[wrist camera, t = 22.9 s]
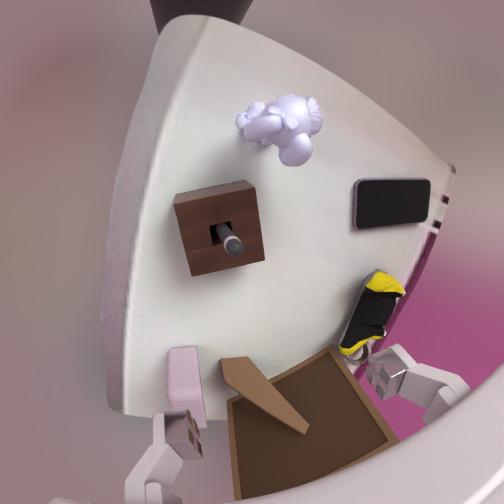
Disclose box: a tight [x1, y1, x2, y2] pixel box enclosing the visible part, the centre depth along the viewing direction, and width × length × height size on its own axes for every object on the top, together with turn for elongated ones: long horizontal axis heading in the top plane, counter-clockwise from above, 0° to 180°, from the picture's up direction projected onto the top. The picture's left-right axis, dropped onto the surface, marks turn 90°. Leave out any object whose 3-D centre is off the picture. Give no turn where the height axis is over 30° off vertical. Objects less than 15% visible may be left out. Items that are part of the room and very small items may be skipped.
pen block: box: [174, 180, 265, 277], centre depth 31 cm, size 8×8×5 cm
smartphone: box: [353, 178, 431, 230], centre depth 37 cm, size 7×1×15 cm
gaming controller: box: [337, 269, 406, 355], centre depth 42 cm, size 15×6×10 cm
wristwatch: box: [345, 341, 371, 366], centre depth 47 cm, size 4×6×5 cm
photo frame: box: [221, 345, 400, 501], centre depth 34 cm, size 15×22×25 cm
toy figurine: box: [235, 94, 323, 166], centre depth 24 cm, size 7×6×12 cm
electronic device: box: [167, 346, 207, 429], centre depth 36 cm, size 10×5×10 cm, turn 178°
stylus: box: [213, 223, 243, 257], centre depth 26 cm, size 1×1×14 cm
